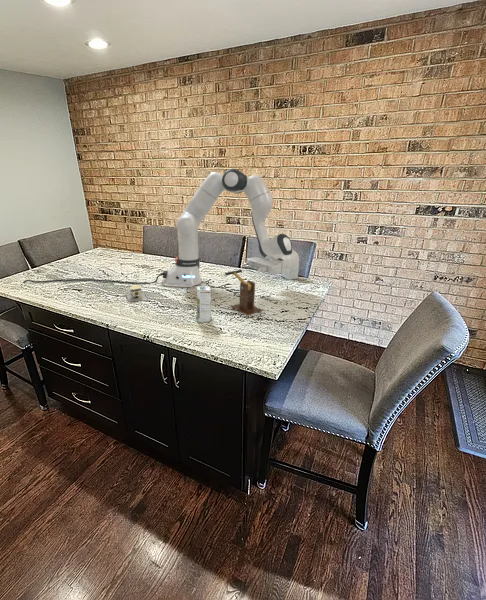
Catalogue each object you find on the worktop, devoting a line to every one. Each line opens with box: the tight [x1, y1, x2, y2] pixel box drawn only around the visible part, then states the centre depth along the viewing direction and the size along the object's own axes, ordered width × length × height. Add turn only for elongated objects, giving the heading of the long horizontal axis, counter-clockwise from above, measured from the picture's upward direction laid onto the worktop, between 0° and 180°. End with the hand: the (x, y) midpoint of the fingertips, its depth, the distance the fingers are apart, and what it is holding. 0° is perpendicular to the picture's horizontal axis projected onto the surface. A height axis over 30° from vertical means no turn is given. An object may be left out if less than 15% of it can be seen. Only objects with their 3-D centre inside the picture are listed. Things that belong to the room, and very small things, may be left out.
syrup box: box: [196, 285, 212, 323], centre depth 144 cm, size 6×6×14 cm
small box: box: [281, 260, 300, 281], centre depth 200 cm, size 8×6×13 cm
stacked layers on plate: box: [126, 284, 148, 303], centre depth 171 cm, size 10×9×6 cm
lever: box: [224, 269, 252, 290], centre depth 153 cm, size 13×9×2 cm
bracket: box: [230, 279, 263, 316], centre depth 152 cm, size 12×9×14 cm
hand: (250, 267), depth 161 cm, fingers open, 8 cm apart
